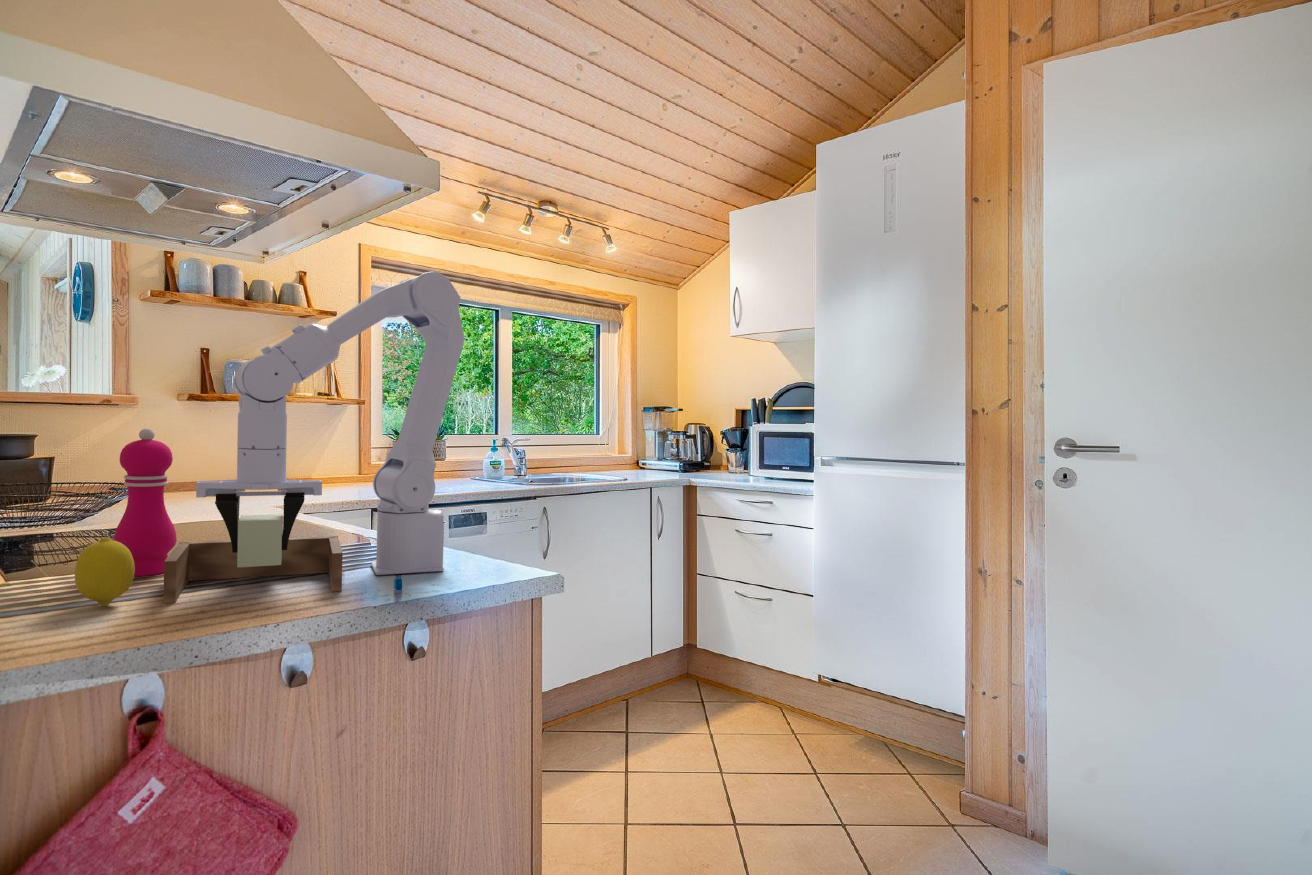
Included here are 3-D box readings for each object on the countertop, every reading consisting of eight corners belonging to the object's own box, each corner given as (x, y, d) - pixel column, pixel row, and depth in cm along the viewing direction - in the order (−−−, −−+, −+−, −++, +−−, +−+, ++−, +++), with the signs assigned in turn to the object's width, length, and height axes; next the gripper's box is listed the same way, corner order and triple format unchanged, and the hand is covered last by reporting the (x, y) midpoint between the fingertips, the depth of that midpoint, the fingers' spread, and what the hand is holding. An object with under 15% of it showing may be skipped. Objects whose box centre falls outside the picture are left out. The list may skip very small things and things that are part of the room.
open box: (337, 570, 105) (337, 536, 105) (341, 590, 94) (342, 552, 93) (179, 579, 96) (179, 542, 96) (163, 603, 85) (164, 561, 85)
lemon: (82, 615, 79) (83, 543, 79) (67, 605, 83) (68, 536, 82) (141, 605, 84) (142, 537, 83) (125, 596, 87) (126, 531, 87)
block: (281, 557, 99) (282, 514, 99) (281, 564, 94) (281, 519, 94) (240, 559, 97) (240, 515, 96) (237, 567, 92) (238, 521, 92)
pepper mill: (160, 563, 105) (162, 427, 104) (186, 570, 101) (188, 429, 100) (102, 572, 98) (104, 427, 98) (128, 580, 95) (130, 429, 94)
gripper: (193, 449, 88) (192, 559, 89) (323, 450, 95) (321, 552, 95) (200, 446, 94) (199, 548, 95) (321, 447, 101) (319, 543, 101)
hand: (260, 550), depth 95 cm, fingers closed on block, 5 cm apart
